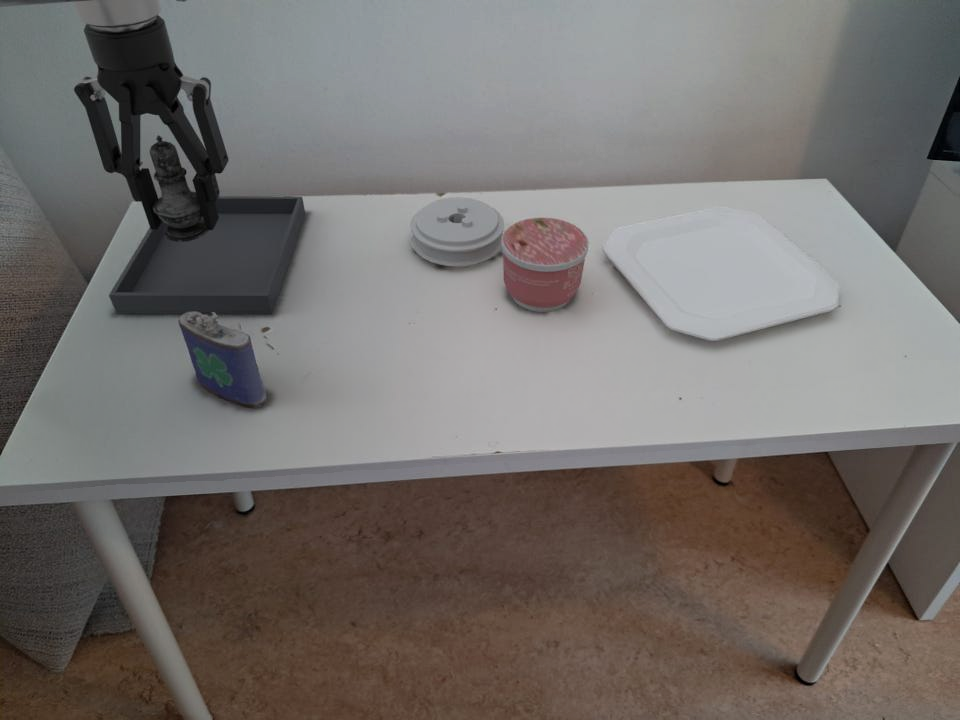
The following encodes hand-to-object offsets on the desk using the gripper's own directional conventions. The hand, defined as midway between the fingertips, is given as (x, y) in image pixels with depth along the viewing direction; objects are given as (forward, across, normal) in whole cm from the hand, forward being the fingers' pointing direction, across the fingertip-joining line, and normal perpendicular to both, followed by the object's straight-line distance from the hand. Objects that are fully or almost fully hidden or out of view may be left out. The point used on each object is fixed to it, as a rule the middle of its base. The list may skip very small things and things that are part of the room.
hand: (185, 223), depth 87 cm
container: (+10, -43, +1) cm, 44 cm away
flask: (+10, -8, +18) cm, 22 cm away
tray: (+10, 0, -6) cm, 12 cm away
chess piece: (+1, 0, 0) cm, 1 cm away
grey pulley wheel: (+10, -32, -10) cm, 35 cm away
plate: (+10, -66, -3) cm, 67 cm away
